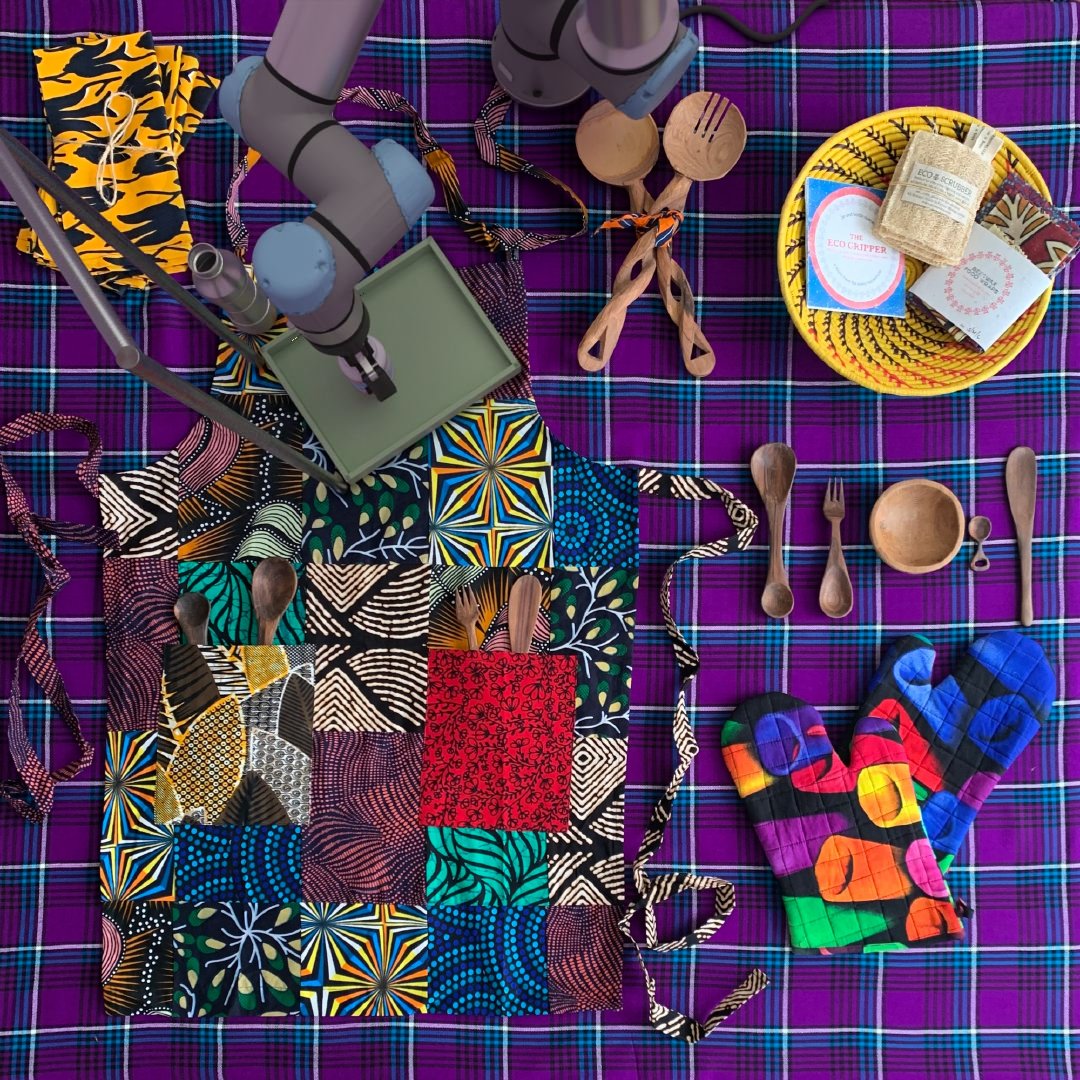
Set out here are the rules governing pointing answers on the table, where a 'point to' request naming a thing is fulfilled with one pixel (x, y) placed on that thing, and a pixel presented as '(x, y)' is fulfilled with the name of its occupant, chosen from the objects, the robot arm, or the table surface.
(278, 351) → the platform cart
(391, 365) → the pill bottle
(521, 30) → the robot arm
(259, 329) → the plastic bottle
